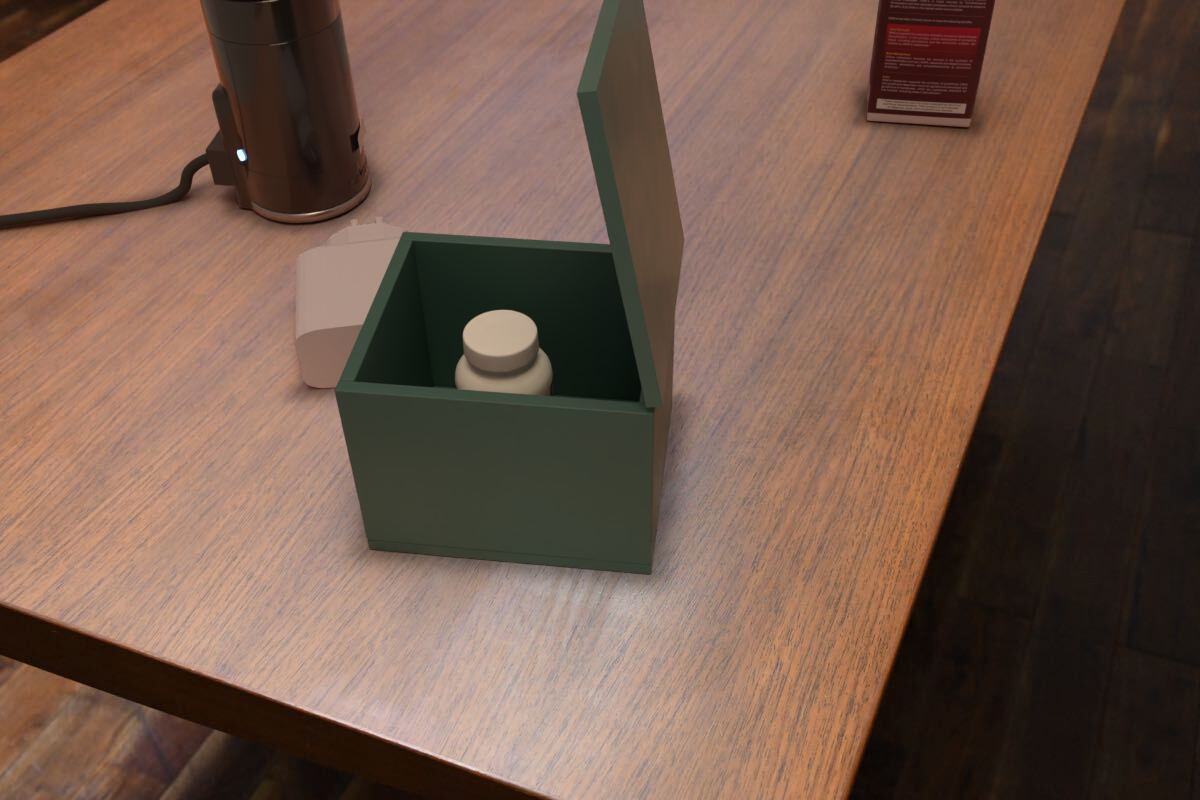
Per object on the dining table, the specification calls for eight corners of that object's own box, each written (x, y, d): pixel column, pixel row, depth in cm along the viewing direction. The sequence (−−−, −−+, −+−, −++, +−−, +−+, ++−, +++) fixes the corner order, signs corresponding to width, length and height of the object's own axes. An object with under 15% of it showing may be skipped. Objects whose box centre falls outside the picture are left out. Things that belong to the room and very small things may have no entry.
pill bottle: (545, 500, 68) (536, 371, 62) (454, 487, 69) (436, 358, 62) (566, 434, 72) (560, 306, 65) (480, 423, 73) (465, 295, 66)
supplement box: (967, 101, 102) (1007, -89, 92) (970, 130, 99) (1011, -65, 88) (863, 93, 103) (890, -95, 93) (862, 122, 100) (890, -71, 89)
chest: (368, 549, 67) (333, 390, 59) (426, 386, 77) (402, 230, 69) (651, 575, 65) (654, 414, 57) (672, 404, 75) (677, 247, 67)
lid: (575, 92, 46) (596, 90, 46) (617, -50, 56) (634, -52, 56) (646, 408, 57) (662, 407, 57) (670, 241, 67) (684, 240, 67)
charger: (435, 240, 88) (452, 373, 77) (307, 255, 87) (306, 391, 76) (427, 184, 85) (444, 315, 74) (294, 199, 84) (292, 333, 73)
